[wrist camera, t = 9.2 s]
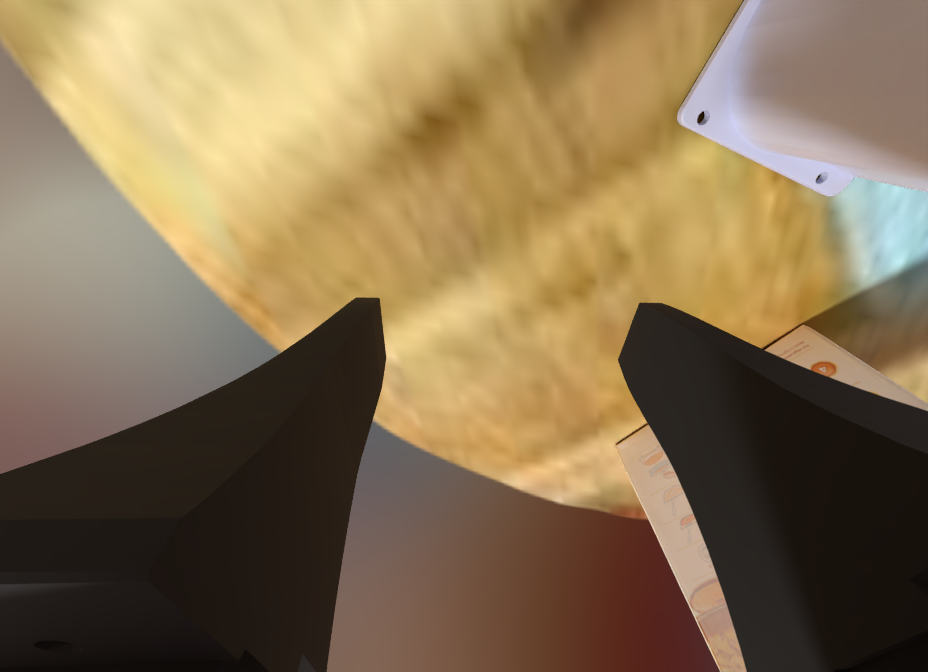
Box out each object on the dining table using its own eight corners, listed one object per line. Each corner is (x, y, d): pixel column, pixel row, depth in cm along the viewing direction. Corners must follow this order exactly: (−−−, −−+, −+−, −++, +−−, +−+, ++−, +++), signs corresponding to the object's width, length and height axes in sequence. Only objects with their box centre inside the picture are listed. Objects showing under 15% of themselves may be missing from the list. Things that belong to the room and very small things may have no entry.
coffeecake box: (660, 475, 31) (887, 888, 15) (610, 444, 28) (820, 909, 12) (846, 371, 24) (1600, 906, 8) (803, 319, 22) (1799, 961, 6)
